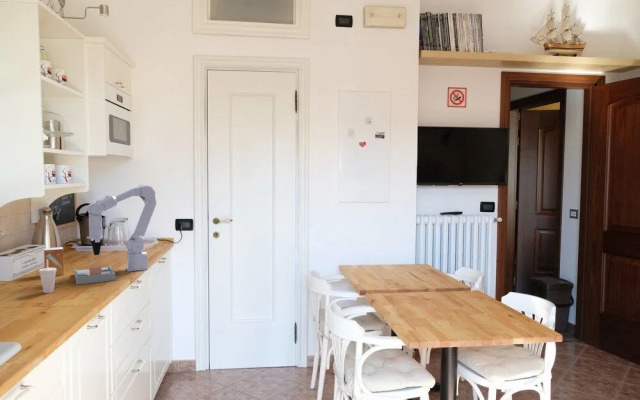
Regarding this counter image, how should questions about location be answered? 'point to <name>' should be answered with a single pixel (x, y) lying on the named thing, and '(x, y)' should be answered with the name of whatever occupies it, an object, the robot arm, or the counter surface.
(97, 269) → the block
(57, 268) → the small box
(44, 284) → the smoothie
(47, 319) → the counter surface
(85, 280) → the trap board
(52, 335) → the counter surface
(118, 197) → the robot arm
